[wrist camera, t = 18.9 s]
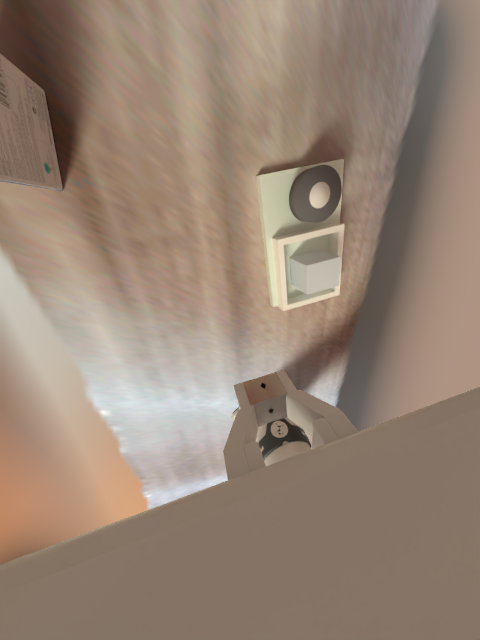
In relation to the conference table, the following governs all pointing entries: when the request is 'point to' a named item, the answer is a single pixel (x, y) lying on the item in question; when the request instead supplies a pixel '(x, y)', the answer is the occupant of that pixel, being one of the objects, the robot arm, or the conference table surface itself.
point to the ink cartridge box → (25, 132)
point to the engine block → (314, 271)
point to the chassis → (294, 236)
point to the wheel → (315, 194)
